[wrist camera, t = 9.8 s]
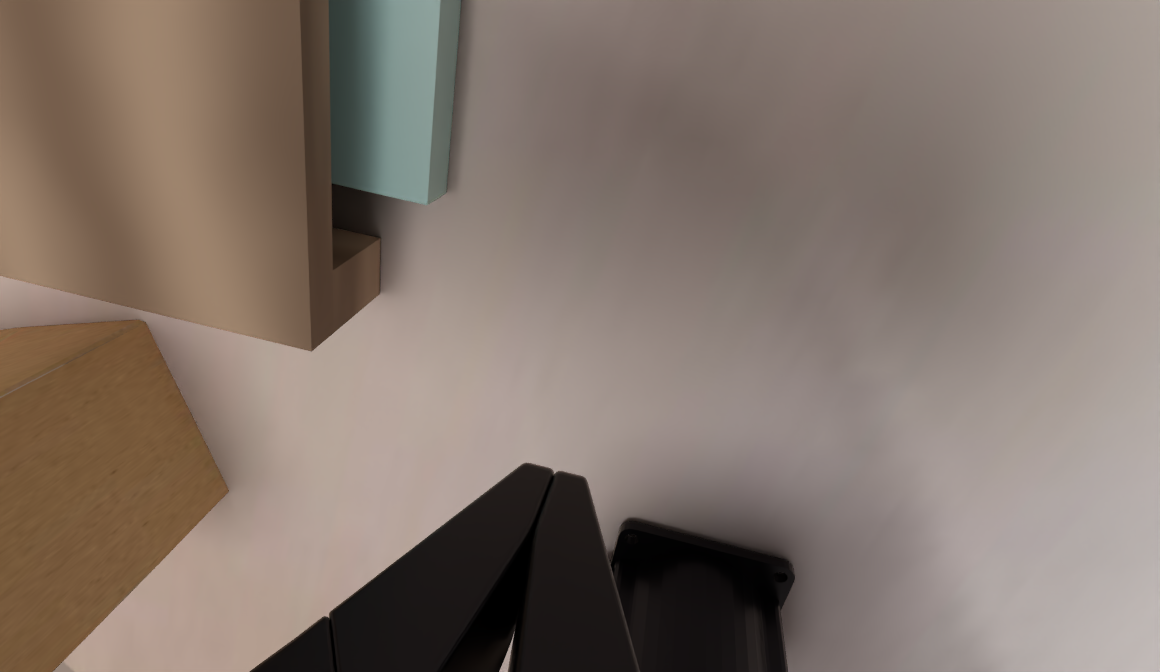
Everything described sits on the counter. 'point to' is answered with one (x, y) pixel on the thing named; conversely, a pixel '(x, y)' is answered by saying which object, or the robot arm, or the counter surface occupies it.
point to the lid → (392, 95)
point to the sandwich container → (88, 480)
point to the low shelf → (178, 162)
